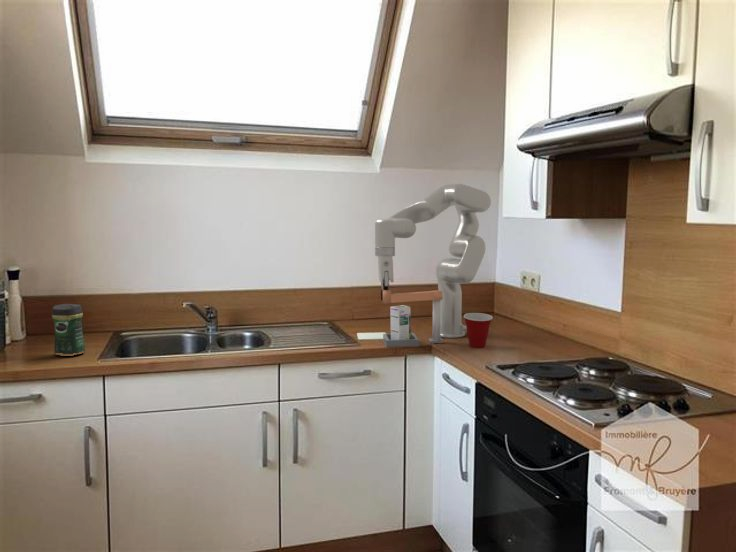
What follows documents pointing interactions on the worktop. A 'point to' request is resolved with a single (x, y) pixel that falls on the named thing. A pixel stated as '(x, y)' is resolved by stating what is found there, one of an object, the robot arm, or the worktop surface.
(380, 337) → the mat
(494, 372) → the worktop surface
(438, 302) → the socket
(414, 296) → the orange bar
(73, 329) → the coffee jar
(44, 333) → the worktop surface
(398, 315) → the syrup box
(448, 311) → the robot arm
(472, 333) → the plastic cup
